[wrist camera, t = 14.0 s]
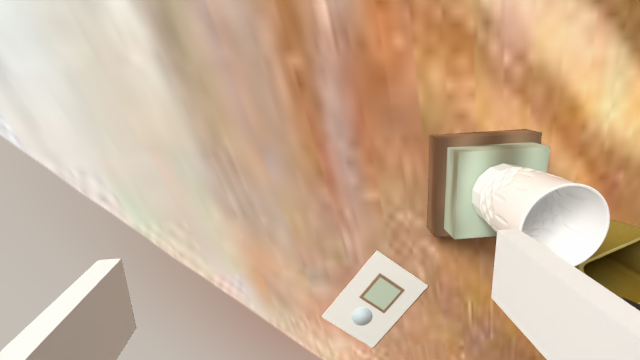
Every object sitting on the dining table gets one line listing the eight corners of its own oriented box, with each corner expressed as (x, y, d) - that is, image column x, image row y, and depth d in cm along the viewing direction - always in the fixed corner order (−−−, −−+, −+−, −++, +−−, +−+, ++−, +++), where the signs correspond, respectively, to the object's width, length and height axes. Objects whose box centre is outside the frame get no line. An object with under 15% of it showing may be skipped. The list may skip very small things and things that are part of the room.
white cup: (509, 142, 39) (580, 163, 29) (548, 193, 41) (627, 229, 31) (451, 191, 40) (501, 228, 30) (492, 239, 42) (551, 287, 32)
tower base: (426, 227, 48) (445, 248, 42) (429, 135, 44) (450, 143, 39) (516, 220, 48) (547, 239, 42) (525, 129, 45) (560, 136, 39)
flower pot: (546, 283, 51) (597, 325, 42) (528, 231, 49) (579, 264, 40) (605, 256, 51) (669, 293, 42) (590, 203, 48) (655, 230, 40)
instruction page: (377, 250, 48) (377, 251, 48) (427, 285, 50) (428, 286, 49) (321, 316, 50) (321, 317, 50) (372, 347, 52) (372, 348, 52)
